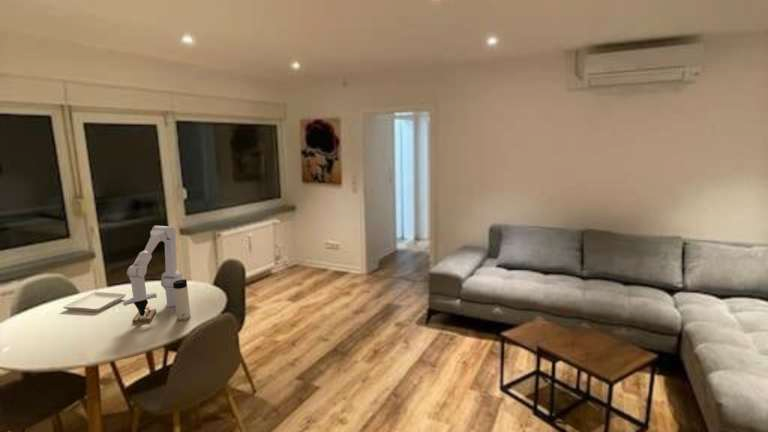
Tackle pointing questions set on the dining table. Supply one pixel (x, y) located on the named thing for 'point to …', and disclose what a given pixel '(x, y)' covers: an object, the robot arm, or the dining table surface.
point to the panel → (148, 319)
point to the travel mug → (181, 300)
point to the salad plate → (95, 301)
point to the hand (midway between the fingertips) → (142, 315)
